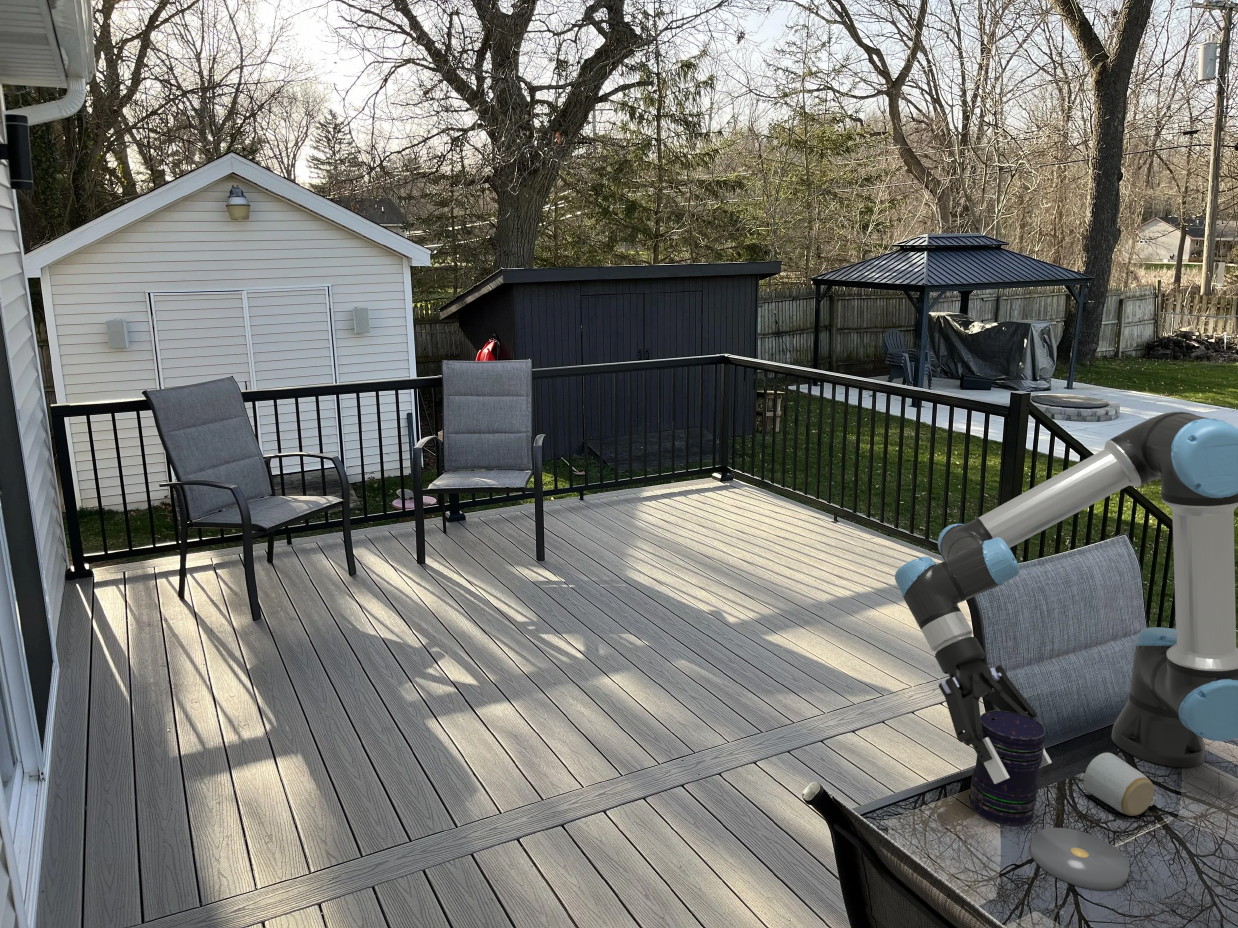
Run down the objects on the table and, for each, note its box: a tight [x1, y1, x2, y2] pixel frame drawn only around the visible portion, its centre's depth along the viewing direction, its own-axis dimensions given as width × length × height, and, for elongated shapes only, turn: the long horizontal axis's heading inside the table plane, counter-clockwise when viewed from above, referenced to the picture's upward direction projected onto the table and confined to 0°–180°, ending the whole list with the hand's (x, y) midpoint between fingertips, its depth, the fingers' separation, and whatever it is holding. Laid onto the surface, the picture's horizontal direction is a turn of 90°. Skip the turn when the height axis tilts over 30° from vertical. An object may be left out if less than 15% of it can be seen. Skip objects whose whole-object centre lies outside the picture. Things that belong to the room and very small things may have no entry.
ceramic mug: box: [1083, 752, 1157, 817], centre depth 153 cm, size 11×8×8 cm
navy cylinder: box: [969, 710, 1046, 827], centre depth 148 cm, size 10×10×15 cm
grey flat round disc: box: [1030, 827, 1130, 891], centre depth 136 cm, size 13×13×2 cm
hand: (1023, 772), depth 146 cm, fingers closed on navy cylinder, 10 cm apart
